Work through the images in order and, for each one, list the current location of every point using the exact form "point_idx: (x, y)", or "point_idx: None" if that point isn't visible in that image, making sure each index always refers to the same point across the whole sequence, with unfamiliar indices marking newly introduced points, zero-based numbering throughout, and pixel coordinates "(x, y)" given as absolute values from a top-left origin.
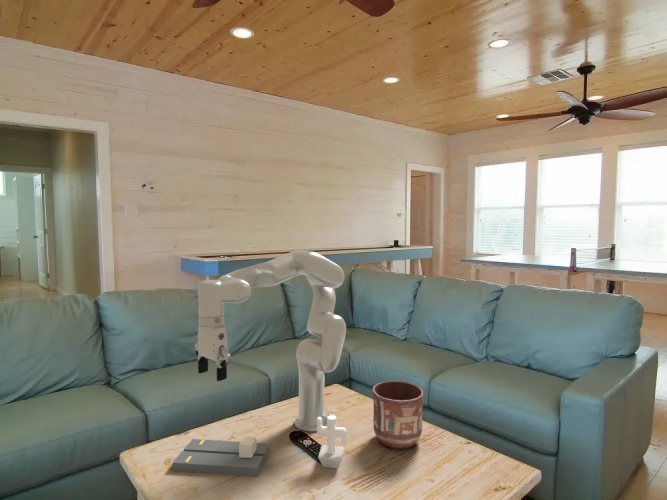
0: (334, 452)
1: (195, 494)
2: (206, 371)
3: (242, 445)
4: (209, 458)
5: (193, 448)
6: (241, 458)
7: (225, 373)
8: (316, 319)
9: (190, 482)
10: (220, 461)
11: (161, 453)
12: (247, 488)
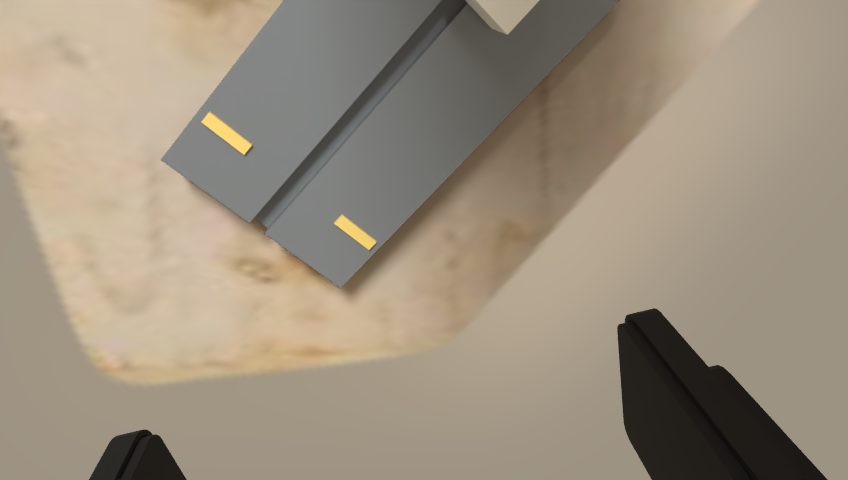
0: None
1: (541, 242)
2: (165, 450)
3: (521, 16)
4: (402, 152)
5: (267, 185)
6: None
7: (752, 405)
8: None
9: (461, 237)
10: (458, 118)
11: (176, 277)
12: (650, 69)
